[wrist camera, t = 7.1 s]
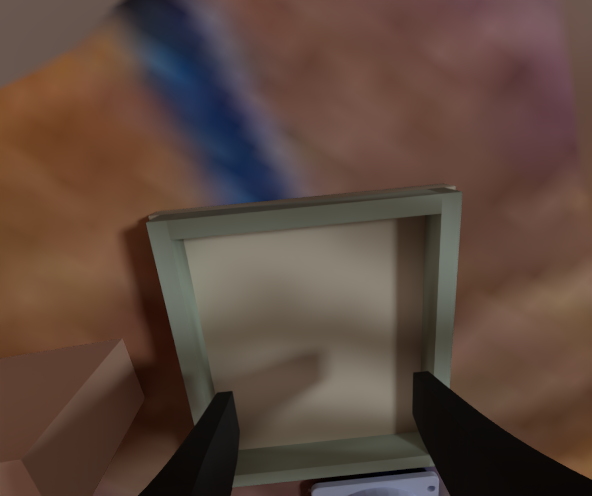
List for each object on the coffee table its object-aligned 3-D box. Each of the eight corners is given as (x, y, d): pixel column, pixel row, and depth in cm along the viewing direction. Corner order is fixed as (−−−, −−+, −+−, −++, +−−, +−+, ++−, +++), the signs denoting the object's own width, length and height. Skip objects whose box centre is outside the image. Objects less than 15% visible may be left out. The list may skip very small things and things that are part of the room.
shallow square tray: (432, 425, 20) (453, 464, 17) (210, 448, 19) (200, 490, 17) (444, 183, 15) (474, 190, 13) (156, 211, 15) (132, 223, 13)
